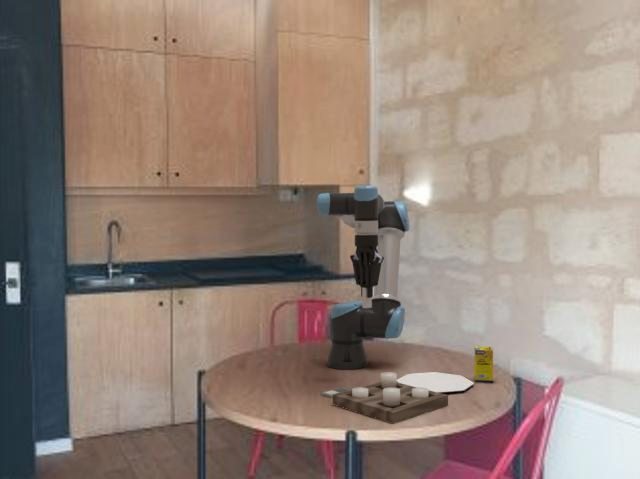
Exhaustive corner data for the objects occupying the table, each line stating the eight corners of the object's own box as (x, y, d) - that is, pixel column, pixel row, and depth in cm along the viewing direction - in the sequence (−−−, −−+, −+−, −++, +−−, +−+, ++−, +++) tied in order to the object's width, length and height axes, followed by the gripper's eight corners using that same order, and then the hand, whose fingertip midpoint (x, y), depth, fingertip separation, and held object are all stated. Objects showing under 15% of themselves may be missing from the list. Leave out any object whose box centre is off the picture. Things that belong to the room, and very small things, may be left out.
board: (332, 404, 199) (332, 394, 199) (387, 389, 215) (387, 380, 215) (393, 423, 181) (393, 412, 181) (448, 405, 197) (448, 395, 197)
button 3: (379, 403, 190) (379, 389, 189) (391, 400, 193) (390, 386, 193) (392, 407, 186) (392, 393, 186) (403, 403, 189) (403, 389, 189)
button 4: (408, 402, 198) (408, 389, 198) (419, 399, 201) (419, 386, 201) (421, 406, 194) (421, 392, 194) (431, 403, 198) (431, 389, 197)
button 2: (377, 386, 207) (377, 374, 207) (388, 384, 210) (388, 371, 210) (389, 389, 204) (389, 376, 203) (399, 386, 207) (399, 374, 207)
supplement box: (493, 383, 221) (493, 350, 221) (474, 382, 222) (474, 349, 222) (492, 378, 227) (492, 346, 226) (474, 377, 228) (474, 346, 228)
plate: (455, 400, 204) (455, 395, 204) (386, 389, 216) (385, 385, 216) (481, 382, 224) (481, 378, 224) (416, 373, 236) (416, 369, 236)
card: (320, 394, 210) (320, 392, 210) (341, 389, 216) (341, 386, 216) (340, 400, 203) (340, 398, 203) (361, 394, 209) (361, 392, 209)
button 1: (348, 402, 199) (348, 389, 199) (360, 399, 202) (360, 386, 202) (360, 406, 195) (360, 392, 195) (371, 402, 199) (371, 389, 198)
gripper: (343, 234, 216) (344, 306, 217) (373, 235, 206) (373, 311, 208) (360, 233, 221) (360, 304, 222) (389, 234, 211) (390, 308, 213)
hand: (367, 307), depth 215 cm, fingers closed
